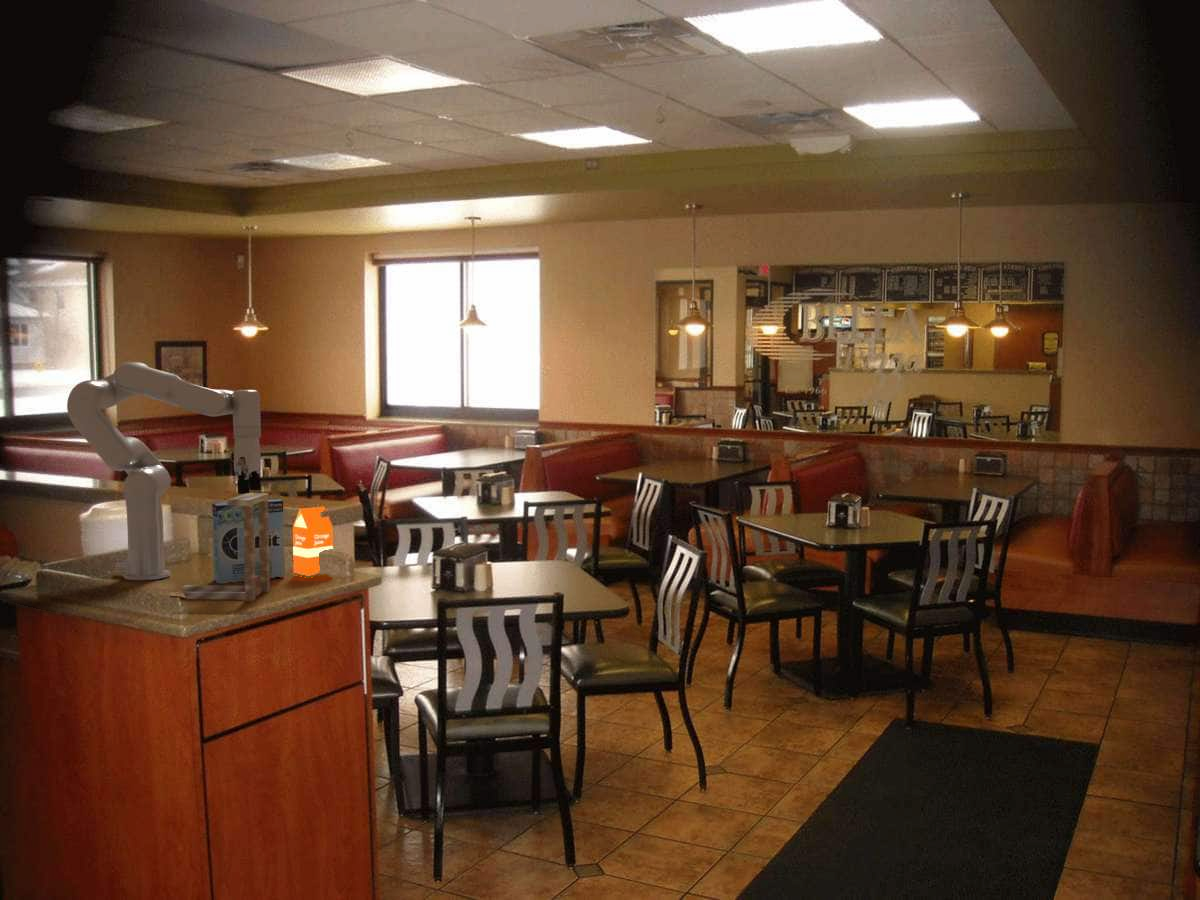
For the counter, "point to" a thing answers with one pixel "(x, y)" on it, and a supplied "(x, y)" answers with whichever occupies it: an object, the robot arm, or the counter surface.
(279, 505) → the gum box
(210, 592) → the metal strip frame
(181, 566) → the counter surface
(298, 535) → the orange juice
